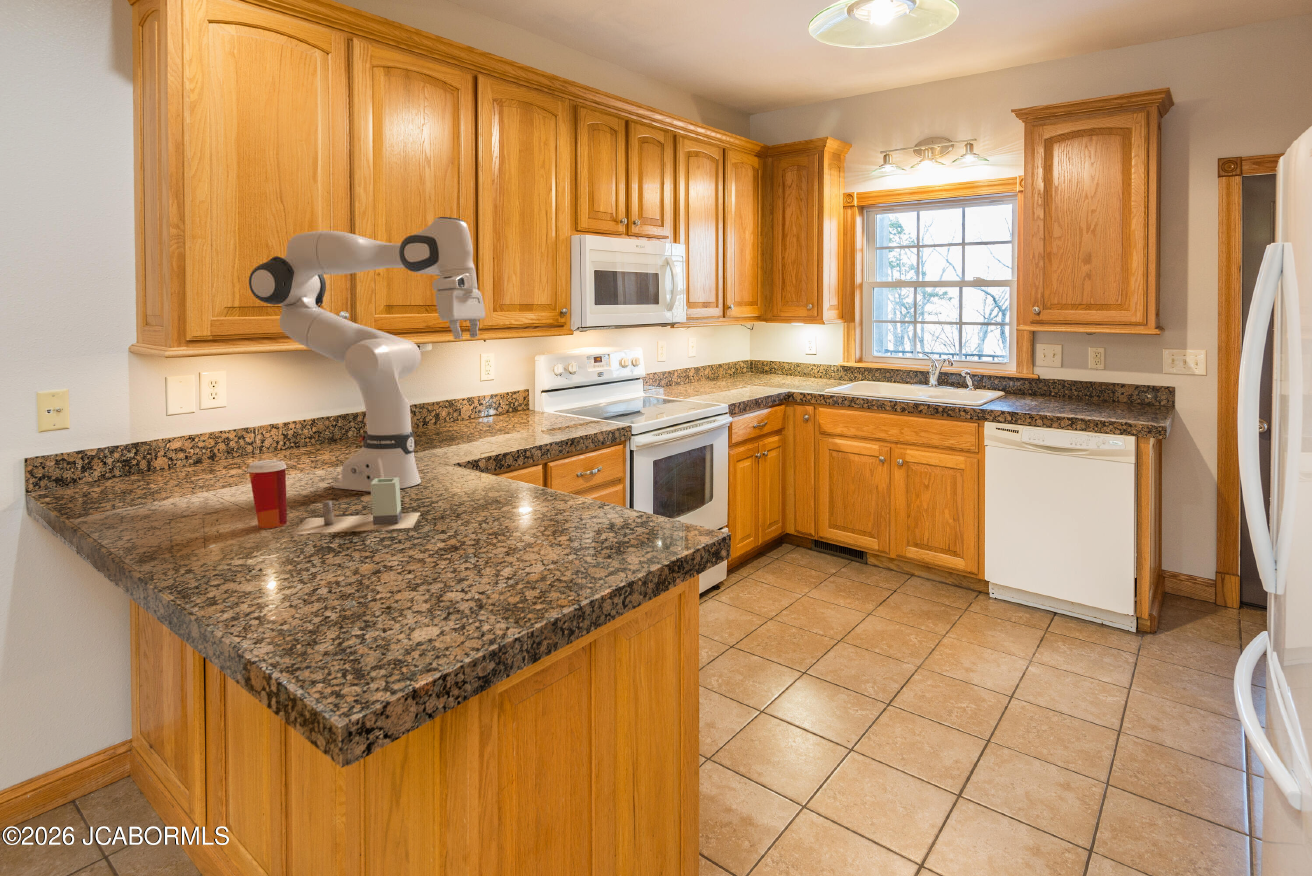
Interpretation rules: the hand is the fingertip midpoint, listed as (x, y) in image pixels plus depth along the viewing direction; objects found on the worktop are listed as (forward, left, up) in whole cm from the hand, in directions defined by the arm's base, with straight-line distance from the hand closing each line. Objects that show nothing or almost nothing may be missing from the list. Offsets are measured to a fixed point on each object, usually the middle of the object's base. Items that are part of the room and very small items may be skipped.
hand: (466, 338), depth 193 cm
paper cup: (-29, -40, -39) cm, 63 cm away
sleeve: (-3, -37, -38) cm, 53 cm away
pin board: (-8, -40, -39) cm, 56 cm away
